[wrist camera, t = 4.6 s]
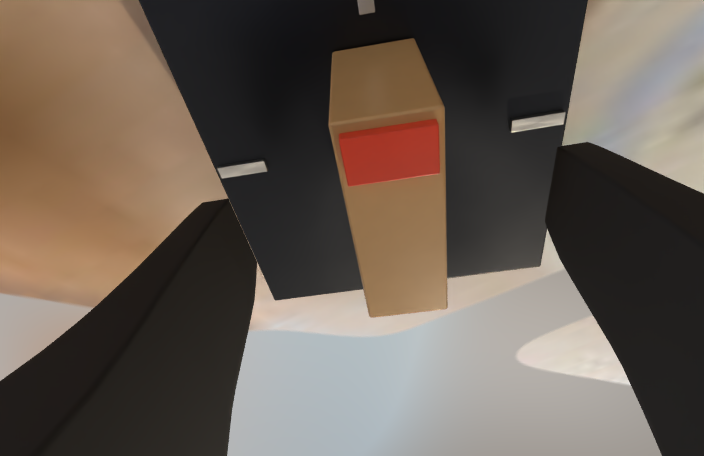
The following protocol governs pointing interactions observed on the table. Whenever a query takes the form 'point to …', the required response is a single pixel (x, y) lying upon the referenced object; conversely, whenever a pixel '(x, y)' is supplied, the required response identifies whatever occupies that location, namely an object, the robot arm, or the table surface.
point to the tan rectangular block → (392, 174)
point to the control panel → (313, 120)
